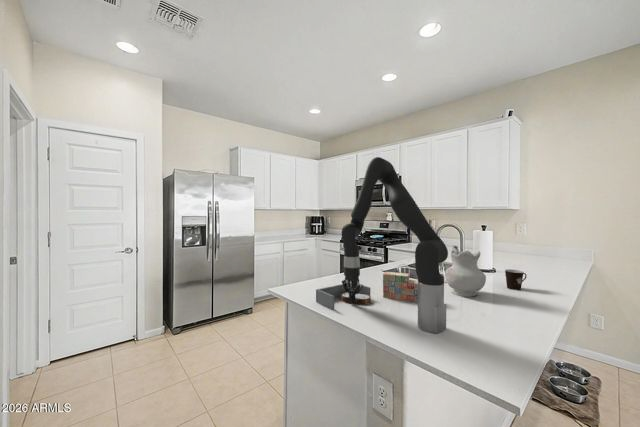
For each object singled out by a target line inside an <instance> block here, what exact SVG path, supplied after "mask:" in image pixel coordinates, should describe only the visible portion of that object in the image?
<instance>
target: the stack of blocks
mask: <svg viewBox="0 0 640 427" xmlns="http://www.w3.org/2000/svg"><path fill="white" fill-rule="evenodd" d="M382 297H383V298H385V299H390V300H391V299H392V300H397V301H398V300H400V301H408V302H416V303H418V279H410V273H406V272H405V273H404V272H393V271H392V272H391V271H384V273H382Z"/></svg>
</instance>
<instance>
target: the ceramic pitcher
mask: <svg viewBox="0 0 640 427" xmlns="http://www.w3.org/2000/svg"><path fill="white" fill-rule="evenodd" d="M450 255H451V257H450V258H451V263H452V265H451V266H450V267H448V268H447V269H446V270H445V272H444V280H445V282H446V283H447V285H448V286H449V287H450V288H451V289H453V290H452V291H451V293H452V294H455V295H457V296H460V297H462V298H463V297H464V298H471V297H475V296H477V295H478V294H477V292H479V291H481V290H482V289H483V288H484V286H485V284H486V280H487V276H486V273H484V272H483V271H482V270H481V269H480V268H479V267H478V260H479V259H480V257H481V252H480V251H478V252H474V253H472V251H470V250H465V251H464V250H463V251H459V247H458V245H453V246H451V250H450Z"/></svg>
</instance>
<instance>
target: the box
mask: <svg viewBox="0 0 640 427" xmlns="http://www.w3.org/2000/svg"><path fill="white" fill-rule="evenodd" d="M362 285H363V287H362V289H361V291H360V292H359V294H366V295H369V296H370V297H371V287H370V286H366V285H364V284H362ZM343 293H348V292H346V291H345V288H344V286H343V284H342V283H341V284H337V285H332V286H327V287H322V288H316V289H315V302H316V303H317V304H320V305H322V306H323V307H326V308H328V309H330V310H333V311H334V310H335V299H337V298H341V295H342V294H343Z"/></svg>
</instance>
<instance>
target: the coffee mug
mask: <svg viewBox="0 0 640 427" xmlns="http://www.w3.org/2000/svg"><path fill="white" fill-rule="evenodd" d="M504 272H505V282H506V288H507V289H508V290H512V291H513V290H514V291H520V290H522V284H523V282H524V281H525V280H526V278H527V274H526V272H524V271H522V270H519V269H510V268H509V269H504ZM523 277H524V278H523Z"/></svg>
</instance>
